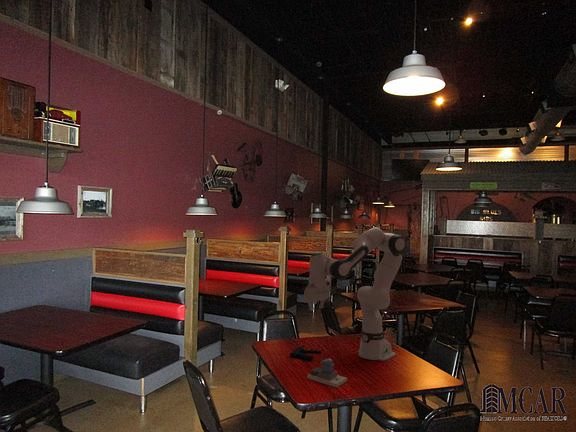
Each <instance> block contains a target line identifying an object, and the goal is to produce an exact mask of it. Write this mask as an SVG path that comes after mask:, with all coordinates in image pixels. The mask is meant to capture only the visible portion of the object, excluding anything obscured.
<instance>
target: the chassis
mask: <svg viewBox="0 0 576 432" xmlns="http://www.w3.org/2000/svg"><path fill="white" fill-rule="evenodd" d="M306 378H307V380H311V381H314V382H317V383H321V384H324V385H328V386H330V387H334V388H338V387H341V386H342V385H343V384H344V383H347V382H348V377H345V376H342V375H339V374H338V371H337V370H334V369H333V373H331V374H328V373H324V372H322V367H315V368H313V369H310V373H309V374H307V377H306Z"/></svg>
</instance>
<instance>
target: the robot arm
mask: <svg viewBox="0 0 576 432" xmlns="http://www.w3.org/2000/svg"><path fill="white" fill-rule="evenodd" d="M352 248H353V250H354V251H352V252H351V253H350V254H349V255H348V256H347V257H345V258H344V259H343V258H342V259H334V258H332V257H330V256H328V255H327V254H325V253H324V252H315V253H312V254H311V255H310V258H309V265H308V266H309V267H308V270H309V276H308V284H307V285H306V286H305V289H304V291H303V303H305V304H306V303H307V304H308V308H309V311H311V312H313V311H314V309H315V307H314V306H313V304H314V303H315V302H319V301H320V303H319V305H318V308H319V309H323V308H324V304H325V301H326V300H327V299H329V298H330V291H331V290H330V285H331V281H329V280H327V279H326V277H327V276H328V277H330V278H334V279H336V280H339V281H341V280H344V279H346V278H348V277H349V275H350V273H351V272H352V270H354V268H355V267H356V266H357V265H359V264H360V262H362V261H363V260H364V259H365V258H366V257H367V256H368V254H370V253H372V252H373V250H375V249H376V250H378V251H382V252H383V257H382V259H381V260H380V262H379V264H378V265H377V267H376V270H375V271H374V273H373V284H372V286H370V285H364V286H361V287H359V288H358V290H357V292H356V298H357V300H358V301H359V307H360V310H361V317H362V321H361V323H362V325H361V326H362V327H361V328H362V329H361V339H360V344H359V349H358V356H359V357H360V358H363V359H366V360H371V361H387V360H389V359H391V358H393V357H395V356H396V355H397V353H396V352H394V351H393V349H392V344H391V342H389V341H388V339H386V338H385V337H386V336H387V335H388V332H387V331H383V317H382V315H381V313H380V310H384V309H385V310H386V308H388V307H389V306H390V303H391V297H390V296H391V295H390V291H391V287H392V283H393V281H394V279H395V278H396V276H397V274H398V272H399V269H400V268H401V264H402V260H403V256H402V255H403V253H404V250H405V248H406V239H405V237H403V236H402V235H400V234H395V233H391V232H384V231H383V230H382V229H381V228H379V227H375V226H374V227H371V228H370V229H369V228H368V230H365V231H364V232H362V233H361V234H359V235H358V236H357V237H356V238H355V239H354V240H353V242H352Z"/></svg>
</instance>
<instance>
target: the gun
mask: <svg viewBox="0 0 576 432" xmlns="http://www.w3.org/2000/svg"><path fill="white" fill-rule="evenodd" d="M304 348H305V346H304V345H301V346H298V347H296V349H294V350H293V351H292V352H291V353H289V354H290V355H289V356H290V358H295V359H300V360H303V361H307V362H311V361H313V359H314V355H311V354H315V355H319V354H320V355H322V350H317V349H316V350H315V349H304ZM309 354H310V355H309Z"/></svg>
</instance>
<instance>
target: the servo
mask: <svg viewBox="0 0 576 432" xmlns="http://www.w3.org/2000/svg"><path fill="white" fill-rule="evenodd" d="M320 365H321V368H322V372H324V373H328V374H331V373H333V370H334V366H335V363H334V361H333V360H332V358H327V359H326V358H325V359H323V360H322V361H321V362H320Z"/></svg>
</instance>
